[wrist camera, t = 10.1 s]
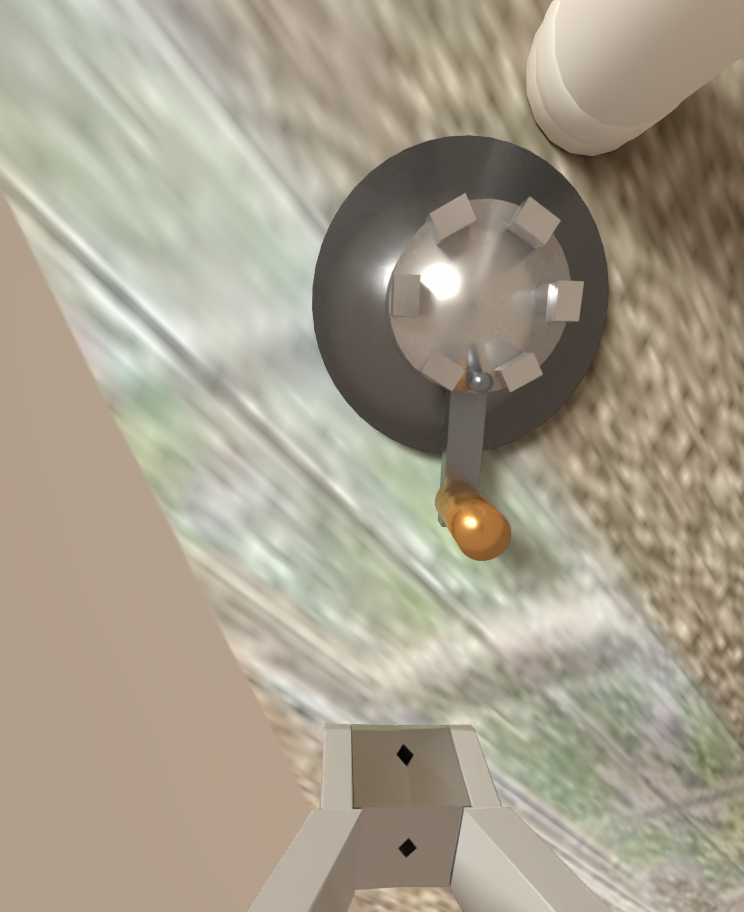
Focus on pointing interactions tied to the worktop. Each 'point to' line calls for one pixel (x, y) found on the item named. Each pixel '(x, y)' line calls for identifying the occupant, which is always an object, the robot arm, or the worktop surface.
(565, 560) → the worktop surface
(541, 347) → the crank handle dial
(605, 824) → the worktop surface
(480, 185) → the flange
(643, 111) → the bottle
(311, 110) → the worktop surface
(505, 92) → the worktop surface
